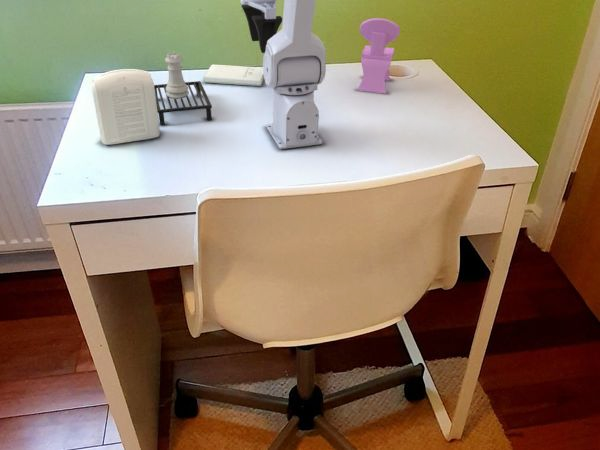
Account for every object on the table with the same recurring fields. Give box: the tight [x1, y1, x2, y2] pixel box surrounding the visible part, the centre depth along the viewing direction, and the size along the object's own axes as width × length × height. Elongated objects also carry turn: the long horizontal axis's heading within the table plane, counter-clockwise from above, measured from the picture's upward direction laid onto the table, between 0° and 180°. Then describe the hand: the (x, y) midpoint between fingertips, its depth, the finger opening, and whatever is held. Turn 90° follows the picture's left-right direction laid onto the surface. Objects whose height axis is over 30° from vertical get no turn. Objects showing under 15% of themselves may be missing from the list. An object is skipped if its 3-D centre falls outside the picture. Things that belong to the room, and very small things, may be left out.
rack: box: [154, 80, 213, 126], centre depth 108 cm, size 13×10×3 cm
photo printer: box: [91, 68, 161, 145], centre depth 95 cm, size 10×4×12 cm, turn 115°
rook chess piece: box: [164, 51, 190, 100], centre depth 105 cm, size 4×4×8 cm
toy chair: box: [357, 17, 401, 95], centre depth 118 cm, size 8×9×15 cm
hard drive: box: [203, 64, 265, 87], centre depth 123 cm, size 2×8×12 cm
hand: (261, 46), depth 113 cm, fingers open, 7 cm apart
